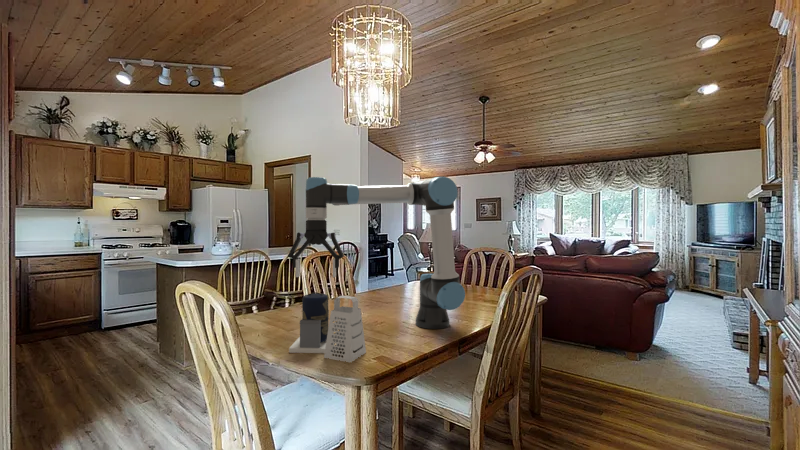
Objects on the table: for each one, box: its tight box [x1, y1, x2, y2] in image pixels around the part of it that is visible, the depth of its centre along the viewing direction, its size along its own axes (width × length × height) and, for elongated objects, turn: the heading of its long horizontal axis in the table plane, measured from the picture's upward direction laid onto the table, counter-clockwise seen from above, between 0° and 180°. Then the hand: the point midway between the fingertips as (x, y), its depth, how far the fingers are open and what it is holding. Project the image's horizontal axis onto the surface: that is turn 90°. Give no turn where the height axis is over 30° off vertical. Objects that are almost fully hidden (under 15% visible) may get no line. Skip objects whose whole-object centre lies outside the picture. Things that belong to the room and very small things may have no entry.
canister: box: [301, 291, 329, 342], centre depth 141 cm, size 10×10×18 cm
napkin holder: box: [288, 309, 330, 354], centre depth 141 cm, size 14×17×11 cm
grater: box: [323, 295, 367, 363], centre depth 131 cm, size 10×10×20 cm
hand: (316, 276), depth 140 cm, fingers open, 13 cm apart
